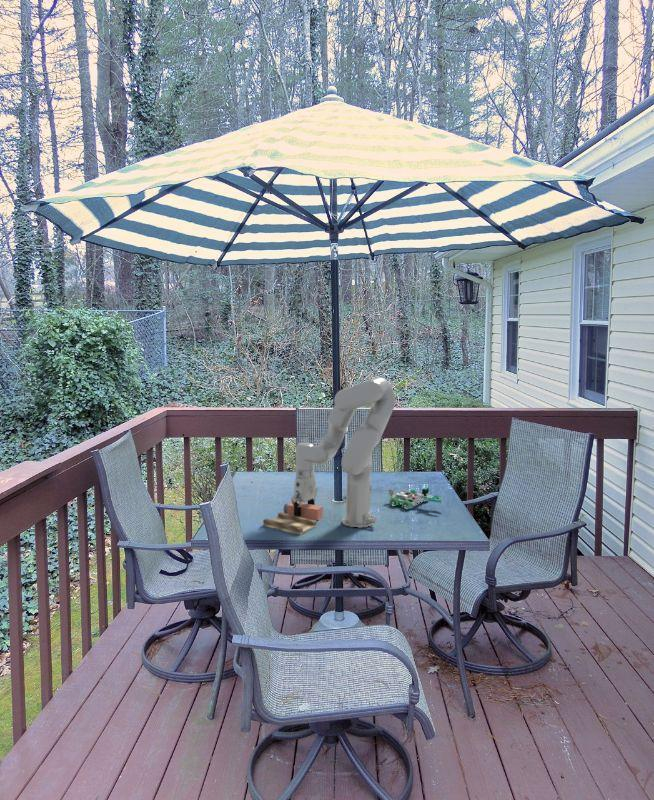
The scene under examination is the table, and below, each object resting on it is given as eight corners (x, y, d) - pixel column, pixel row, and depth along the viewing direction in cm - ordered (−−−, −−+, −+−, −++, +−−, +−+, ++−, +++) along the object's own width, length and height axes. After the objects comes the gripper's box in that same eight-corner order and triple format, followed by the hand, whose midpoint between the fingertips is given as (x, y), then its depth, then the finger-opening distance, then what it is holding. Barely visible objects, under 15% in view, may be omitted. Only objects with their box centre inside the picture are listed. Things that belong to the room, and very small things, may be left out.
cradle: (316, 527, 237) (316, 520, 236) (300, 535, 228) (300, 528, 227) (280, 518, 246) (280, 512, 246) (263, 525, 237) (263, 519, 237)
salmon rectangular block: (322, 517, 248) (322, 506, 248) (317, 521, 244) (317, 509, 243) (288, 512, 255) (288, 501, 254) (282, 515, 250) (282, 504, 249)
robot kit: (433, 517, 251) (434, 496, 250) (383, 505, 266) (383, 484, 265) (453, 507, 265) (454, 486, 264) (405, 495, 281) (405, 476, 280)
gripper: (300, 478, 237) (299, 520, 240) (323, 469, 252) (323, 509, 254) (284, 475, 241) (284, 516, 244) (309, 467, 256) (308, 505, 258)
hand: (304, 512), depth 249 cm, fingers open, 9 cm apart
